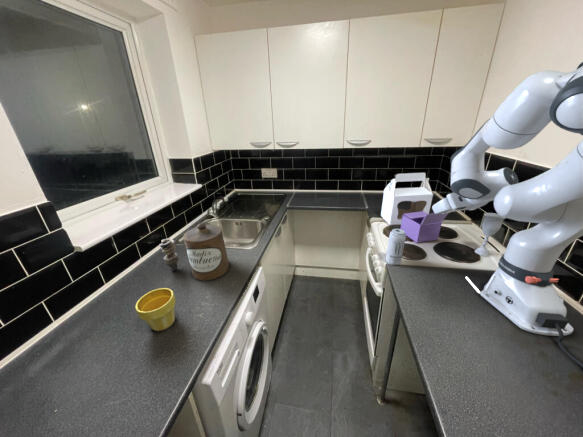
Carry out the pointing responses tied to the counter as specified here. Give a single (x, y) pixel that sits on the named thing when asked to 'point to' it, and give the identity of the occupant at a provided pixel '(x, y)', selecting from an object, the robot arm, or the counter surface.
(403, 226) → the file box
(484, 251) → the chalice
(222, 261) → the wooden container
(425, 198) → the gable box
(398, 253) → the energy drink can
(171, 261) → the grey tall piece
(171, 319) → the flower pot
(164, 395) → the counter surface
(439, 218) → the flap
